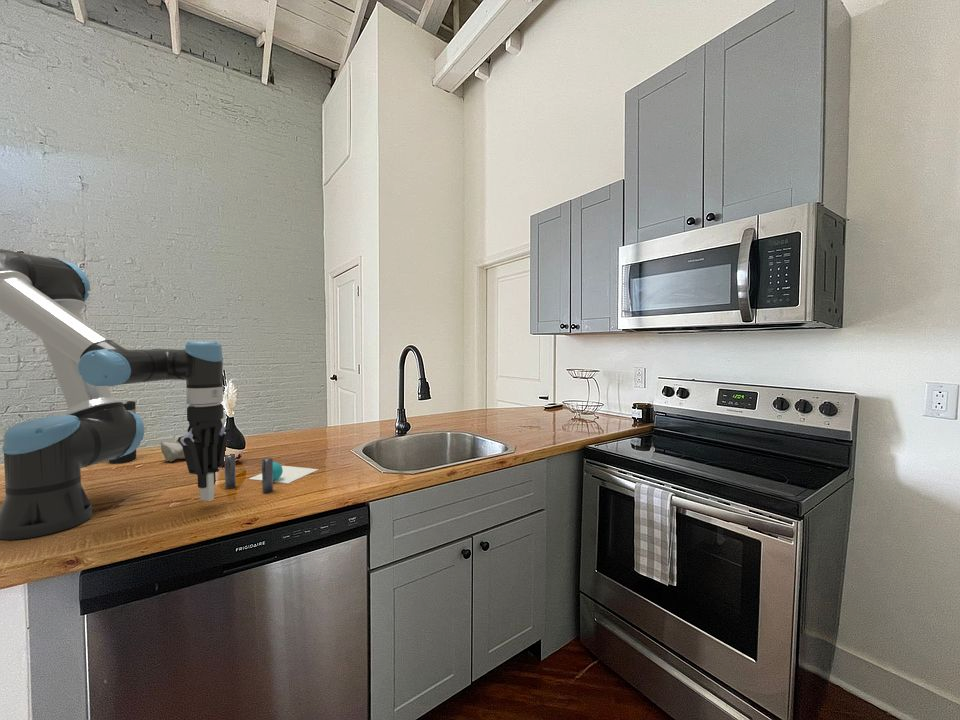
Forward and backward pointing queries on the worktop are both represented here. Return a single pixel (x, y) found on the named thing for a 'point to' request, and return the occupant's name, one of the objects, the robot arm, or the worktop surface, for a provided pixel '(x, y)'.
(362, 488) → the worktop surface
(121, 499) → the worktop surface
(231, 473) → the gate post left
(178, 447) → the grey rock
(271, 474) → the gate post right
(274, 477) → the ball
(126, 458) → the travel mug
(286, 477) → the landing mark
